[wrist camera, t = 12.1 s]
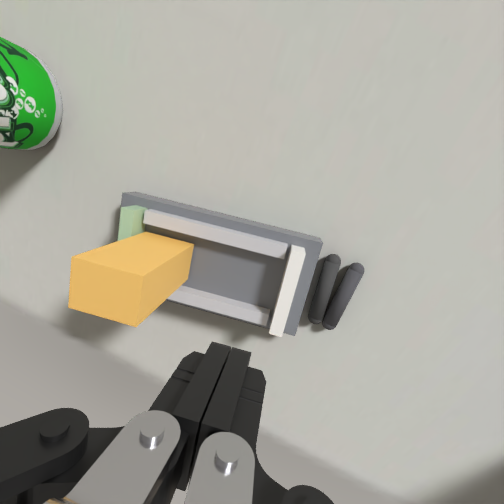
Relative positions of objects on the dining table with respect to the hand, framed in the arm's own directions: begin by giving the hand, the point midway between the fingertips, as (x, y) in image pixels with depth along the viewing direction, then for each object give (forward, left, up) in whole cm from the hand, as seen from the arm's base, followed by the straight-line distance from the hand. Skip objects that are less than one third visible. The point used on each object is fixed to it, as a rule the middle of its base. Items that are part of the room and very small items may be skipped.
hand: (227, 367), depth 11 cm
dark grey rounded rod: (-7, +1, -14) cm, 16 cm away
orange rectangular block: (+8, +1, -12) cm, 15 cm away
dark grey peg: (-5, +1, -14) cm, 15 cm away
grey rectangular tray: (+4, +1, -14) cm, 15 cm away
